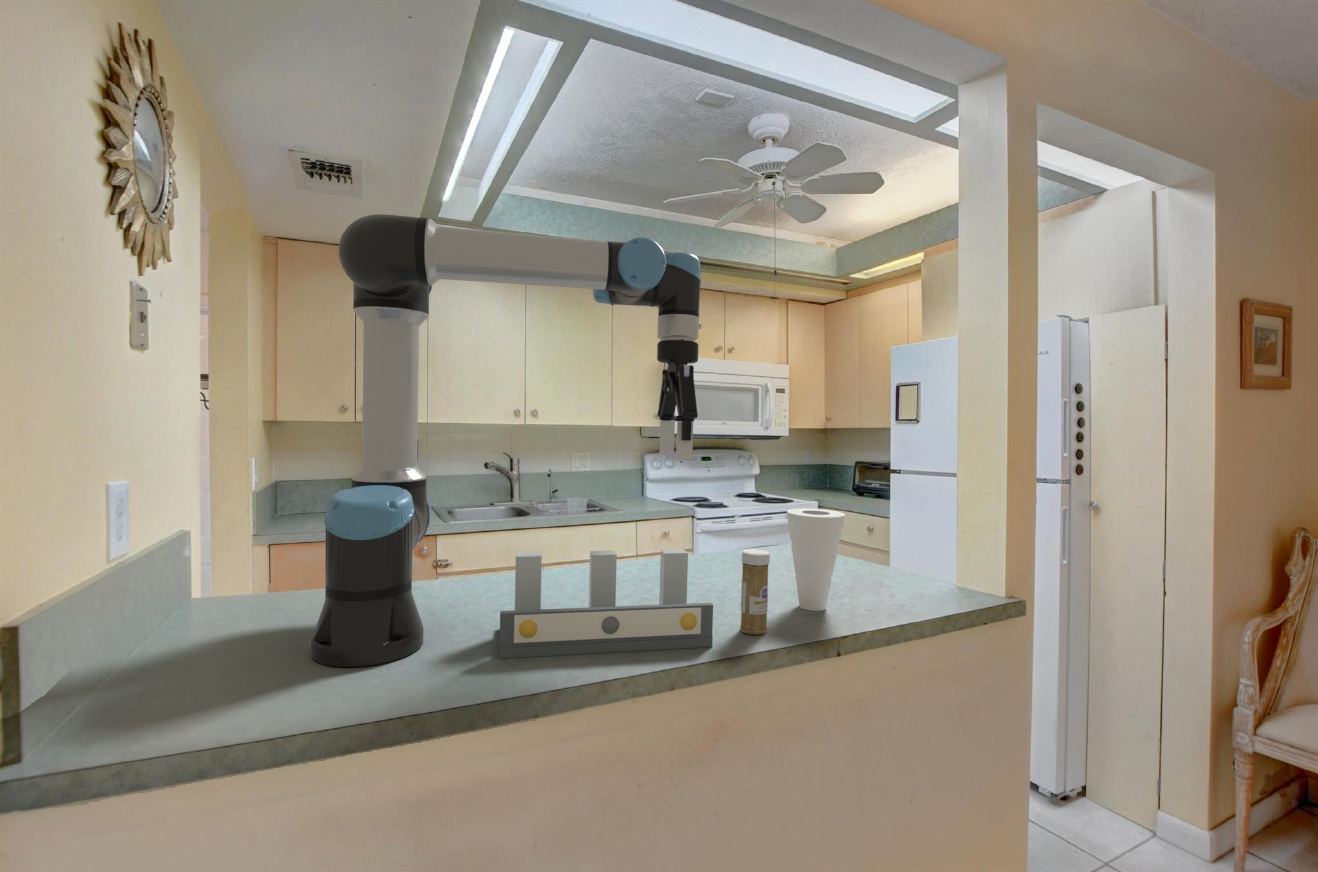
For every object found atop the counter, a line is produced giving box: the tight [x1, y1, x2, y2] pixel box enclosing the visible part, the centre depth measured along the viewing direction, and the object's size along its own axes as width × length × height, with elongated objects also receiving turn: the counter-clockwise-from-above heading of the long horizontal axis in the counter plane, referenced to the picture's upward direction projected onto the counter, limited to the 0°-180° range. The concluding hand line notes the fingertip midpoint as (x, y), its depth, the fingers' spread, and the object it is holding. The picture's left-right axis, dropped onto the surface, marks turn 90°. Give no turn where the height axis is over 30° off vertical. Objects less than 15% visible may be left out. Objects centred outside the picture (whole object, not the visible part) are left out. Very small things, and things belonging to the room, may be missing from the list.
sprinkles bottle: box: [739, 548, 771, 636], centre depth 105 cm, size 5×5×14 cm
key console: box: [498, 602, 714, 660], centre depth 100 cm, size 32×13×6 cm, turn 102°
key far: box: [658, 548, 689, 605], centre depth 106 cm, size 4×3×11 cm
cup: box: [786, 507, 846, 612], centre depth 119 cm, size 11×11×18 cm
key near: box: [514, 551, 543, 610], centre depth 101 cm, size 4×3×11 cm
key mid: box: [588, 550, 618, 608], centre depth 104 cm, size 4×3×11 cm
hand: (674, 456), depth 116 cm, fingers open, 13 cm apart
